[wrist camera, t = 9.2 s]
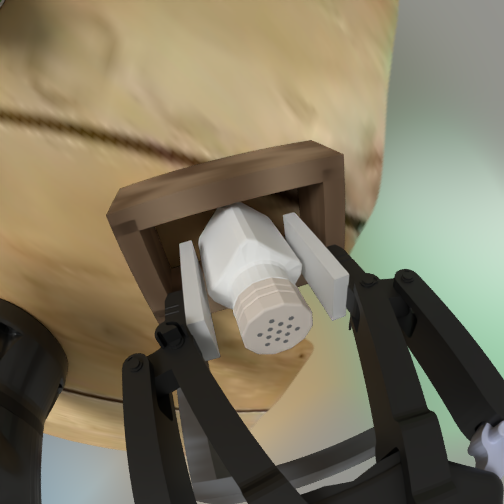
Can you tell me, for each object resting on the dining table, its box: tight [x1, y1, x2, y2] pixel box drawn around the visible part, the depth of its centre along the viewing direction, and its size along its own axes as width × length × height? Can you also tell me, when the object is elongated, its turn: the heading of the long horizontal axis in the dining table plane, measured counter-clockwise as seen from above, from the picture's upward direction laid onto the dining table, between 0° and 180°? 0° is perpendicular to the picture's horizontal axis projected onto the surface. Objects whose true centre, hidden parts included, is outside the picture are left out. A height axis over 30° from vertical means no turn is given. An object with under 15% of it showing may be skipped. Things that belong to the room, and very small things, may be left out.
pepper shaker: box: [198, 202, 313, 354], centre depth 15 cm, size 4×4×10 cm
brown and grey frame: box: [106, 140, 376, 504], centre depth 16 cm, size 14×18×17 cm
